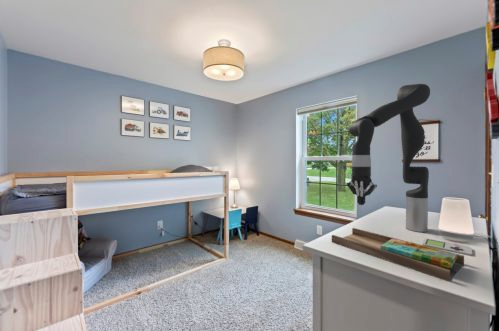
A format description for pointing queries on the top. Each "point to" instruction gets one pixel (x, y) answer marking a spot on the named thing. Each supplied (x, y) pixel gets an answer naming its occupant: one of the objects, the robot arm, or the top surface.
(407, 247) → the puzzle game
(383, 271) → the top surface
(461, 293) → the top surface
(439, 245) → the handheld gaming console
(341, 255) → the top surface
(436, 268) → the channel
